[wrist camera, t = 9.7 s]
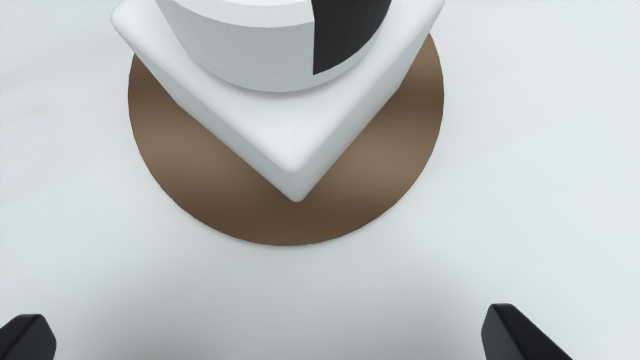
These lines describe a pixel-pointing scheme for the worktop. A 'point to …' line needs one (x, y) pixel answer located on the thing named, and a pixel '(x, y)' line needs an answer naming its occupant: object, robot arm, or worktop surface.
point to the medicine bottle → (279, 71)
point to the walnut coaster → (264, 198)
